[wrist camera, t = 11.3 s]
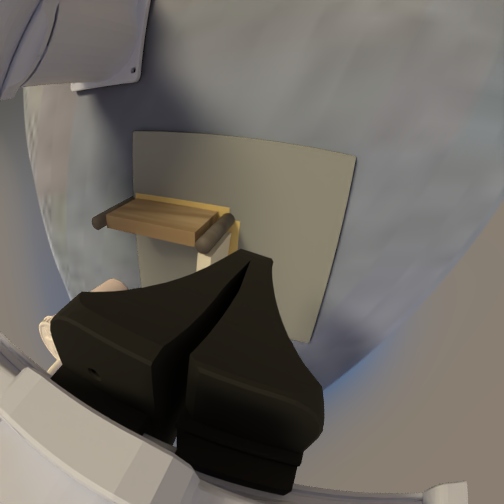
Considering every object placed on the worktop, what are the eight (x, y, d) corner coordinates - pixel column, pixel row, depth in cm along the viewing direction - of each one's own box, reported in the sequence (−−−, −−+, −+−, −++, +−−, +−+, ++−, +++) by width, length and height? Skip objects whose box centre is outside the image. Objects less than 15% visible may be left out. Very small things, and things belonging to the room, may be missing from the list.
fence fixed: (130, 195, 23) (90, 215, 18) (236, 212, 21) (211, 240, 17) (130, 206, 23) (92, 228, 19) (235, 225, 22) (210, 255, 17)
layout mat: (135, 131, 20) (132, 131, 20) (355, 156, 17) (356, 157, 17) (144, 297, 28) (142, 299, 27) (309, 340, 25) (308, 343, 24)
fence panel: (219, 229, 21) (197, 253, 18) (231, 232, 21) (211, 257, 18) (210, 311, 25) (192, 341, 22) (220, 314, 25) (203, 344, 22)
